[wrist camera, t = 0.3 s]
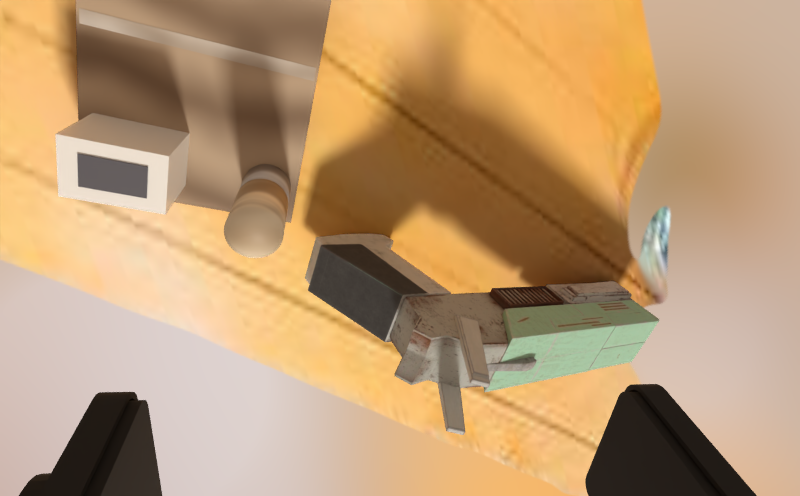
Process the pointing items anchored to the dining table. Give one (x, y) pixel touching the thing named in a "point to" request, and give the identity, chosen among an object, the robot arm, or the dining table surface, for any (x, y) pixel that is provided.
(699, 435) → the robot arm
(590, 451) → the dining table surface
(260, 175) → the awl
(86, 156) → the white rectangular block
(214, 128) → the board
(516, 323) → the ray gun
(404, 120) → the dining table surface
